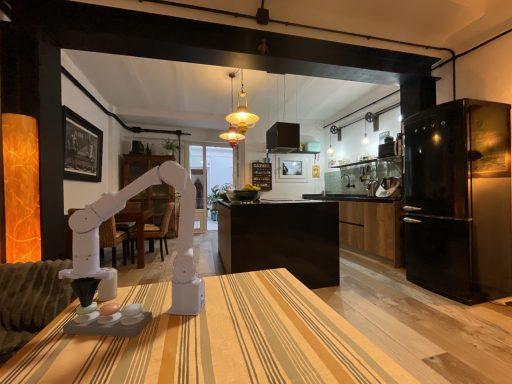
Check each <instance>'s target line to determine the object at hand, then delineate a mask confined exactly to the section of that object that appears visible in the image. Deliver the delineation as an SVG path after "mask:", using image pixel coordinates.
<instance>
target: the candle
mask: <svg viewBox="0 0 512 384" xmlns="http://www.w3.org/2000/svg"><path fill="white" fill-rule="evenodd" d="M102 269H107V270H114V278H112V279H110V280H106V279H102V280H101V281H100V283H99V285H98V287H97V301H99V302H108V301H111V300H114V299H116V298H117V297H118V270H117V269H116V268H114V267H103V268H102ZM115 297H116V298H115Z"/></svg>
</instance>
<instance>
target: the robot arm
mask: <svg viewBox="0 0 512 384" xmlns="http://www.w3.org/2000/svg"><path fill="white" fill-rule="evenodd" d="M190 177H191V176H190V175H189V174H188V171H187V170H186V168H184V167H183V165H180V163H178V162H177V161H174V160H166V161H165V162H163V163H161V165H160V166H159V165H157V166H154V167H153V168H151V169H150V170H148V171H146V172H145V173H143V174H142V175H140V176H139V177H138V178H136V179H135V180H133V181H132V182H130V183H129V184H128V185H126V186H125V187H123V188H122V189H120V190H119V191H113V190H111V191H108V192H107V191H105V192H103V193H101V194H100V196H101V197H100V198H98V199H97V200H95V201H94V202H92V203H87V204H85V205H84V208H85V209H79V210H75V211H74V212H73V213H72V214H71V215H70V217H69V218H68V226H69V228H70V229H71V230H72V268H69V269H68V268H67V269H66V268H64V269H61V270H59V271H58V279H59V280H61V279H62V280H63V279H71V280H73V281H71V282H70V283H69V286H70V287H71V288H72V289H73V291H74V292H75V294H76V295H77V298H78V301H79V304H80V305H81V307H88V306H89V305H91V304H92V302H94V297H95V294H96V291H97V290H98V285H99V283H100V281H101V280H102V279H106V280H110V279H112V278H114V270H107V269H103V268H102V267H100V234H99V233H100V231H99V229H100V226H101V225H102V223H103V222H106V221H107V220H108V219H110V218H112V217H113V216H115V215H116V214H117V213H119V212H120V211H122V210H124V209H125V208H126V204H127V201H128V200H130V199H132V198H133V197H134V196H136V195H138V194H140V193H141V192H143V191H144V190H146V189H147V188H149V187H150V186H154V185H162V184H163V183H162V181H163V182H164V183H166V184H167V185H169V186H171V187H173V188H174V189H175V190H176V191H177V193H179V195H180V204H179V219H178V221H179V222H178V232H177V233H178V234H177V249H176V255H175V257H174V259H173V263H172V266H173V268H172V277H171V279H170V280H171V282H170V283H171V306H170V307H169V308H168V309H167V311H166V312H165V314H166V315H179V316H181V315H182V316H199V313H200V312H201V311H202V310H203V308H204V307H205V305H206V303H207V301H206V282H205V280H204V279H203V278H199V277H197V274H196V271H197V269H196V266H195V261H194V239H195V237H194V235H195V234H194V233H195V219H196V216H195V215H196V205H197V202H196V201H197V187H196V186H195V184H194V182H193V180H192V179H191V178H190Z"/></svg>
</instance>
